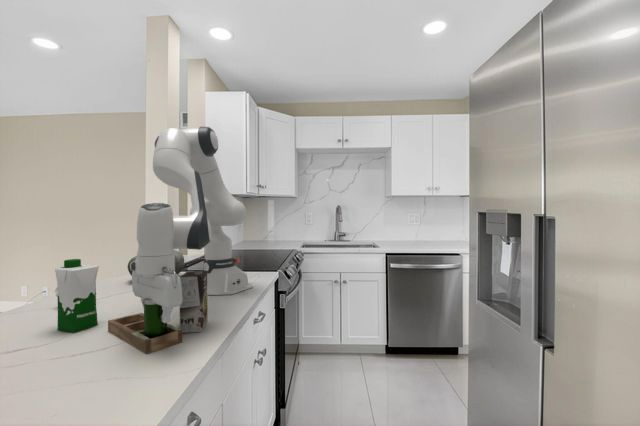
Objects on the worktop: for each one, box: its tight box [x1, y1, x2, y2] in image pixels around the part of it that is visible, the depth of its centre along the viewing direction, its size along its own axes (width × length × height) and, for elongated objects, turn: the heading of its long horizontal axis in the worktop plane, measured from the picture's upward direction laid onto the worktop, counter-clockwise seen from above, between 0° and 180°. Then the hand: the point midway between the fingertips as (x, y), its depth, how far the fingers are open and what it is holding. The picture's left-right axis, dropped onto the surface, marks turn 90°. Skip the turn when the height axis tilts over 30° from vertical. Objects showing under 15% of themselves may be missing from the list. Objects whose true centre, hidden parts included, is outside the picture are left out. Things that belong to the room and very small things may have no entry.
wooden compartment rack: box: [107, 312, 183, 355], centre depth 90 cm, size 9×24×3 cm, turn 52°
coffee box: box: [179, 270, 209, 334], centre depth 97 cm, size 9×6×16 cm
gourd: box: [127, 249, 185, 277], centre depth 161 cm, size 25×25×17 cm
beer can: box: [143, 298, 168, 339], centre depth 85 cm, size 5×5×12 cm
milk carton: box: [54, 258, 100, 334], centre depth 97 cm, size 9×9×20 cm
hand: (156, 318), depth 85 cm, fingers open, 8 cm apart
